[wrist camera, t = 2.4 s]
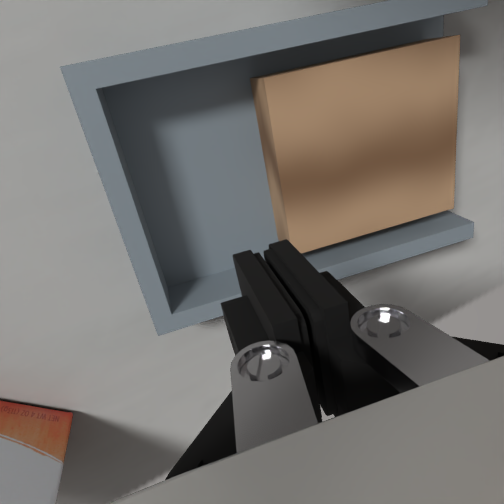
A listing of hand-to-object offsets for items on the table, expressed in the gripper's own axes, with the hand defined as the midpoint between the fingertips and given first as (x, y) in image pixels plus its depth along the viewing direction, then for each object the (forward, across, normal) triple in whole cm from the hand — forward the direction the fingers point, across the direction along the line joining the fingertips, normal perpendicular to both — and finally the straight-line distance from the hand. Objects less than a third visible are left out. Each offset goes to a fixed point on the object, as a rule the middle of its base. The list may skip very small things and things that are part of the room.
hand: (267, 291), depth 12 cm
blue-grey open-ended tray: (+12, -5, -1) cm, 13 cm away
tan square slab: (+11, -8, -1) cm, 14 cm away
